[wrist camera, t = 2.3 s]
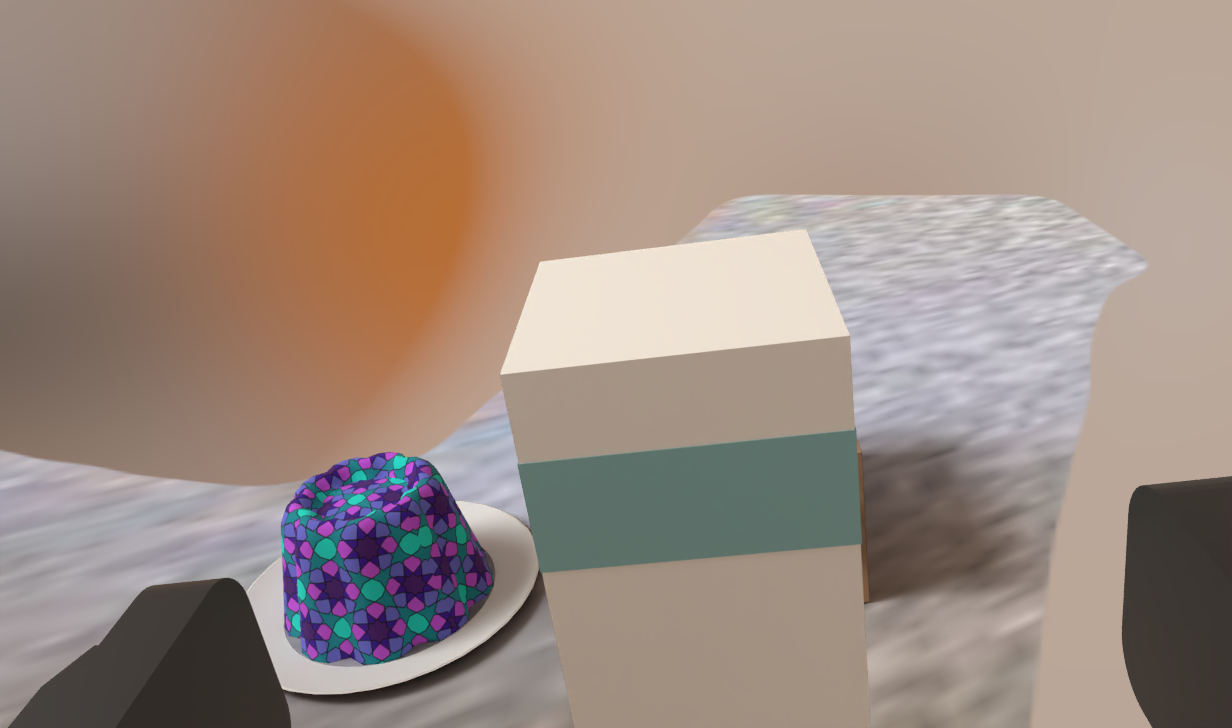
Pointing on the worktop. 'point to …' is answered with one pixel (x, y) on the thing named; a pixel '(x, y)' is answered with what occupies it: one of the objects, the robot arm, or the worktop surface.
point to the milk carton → (694, 485)
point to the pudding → (386, 576)
